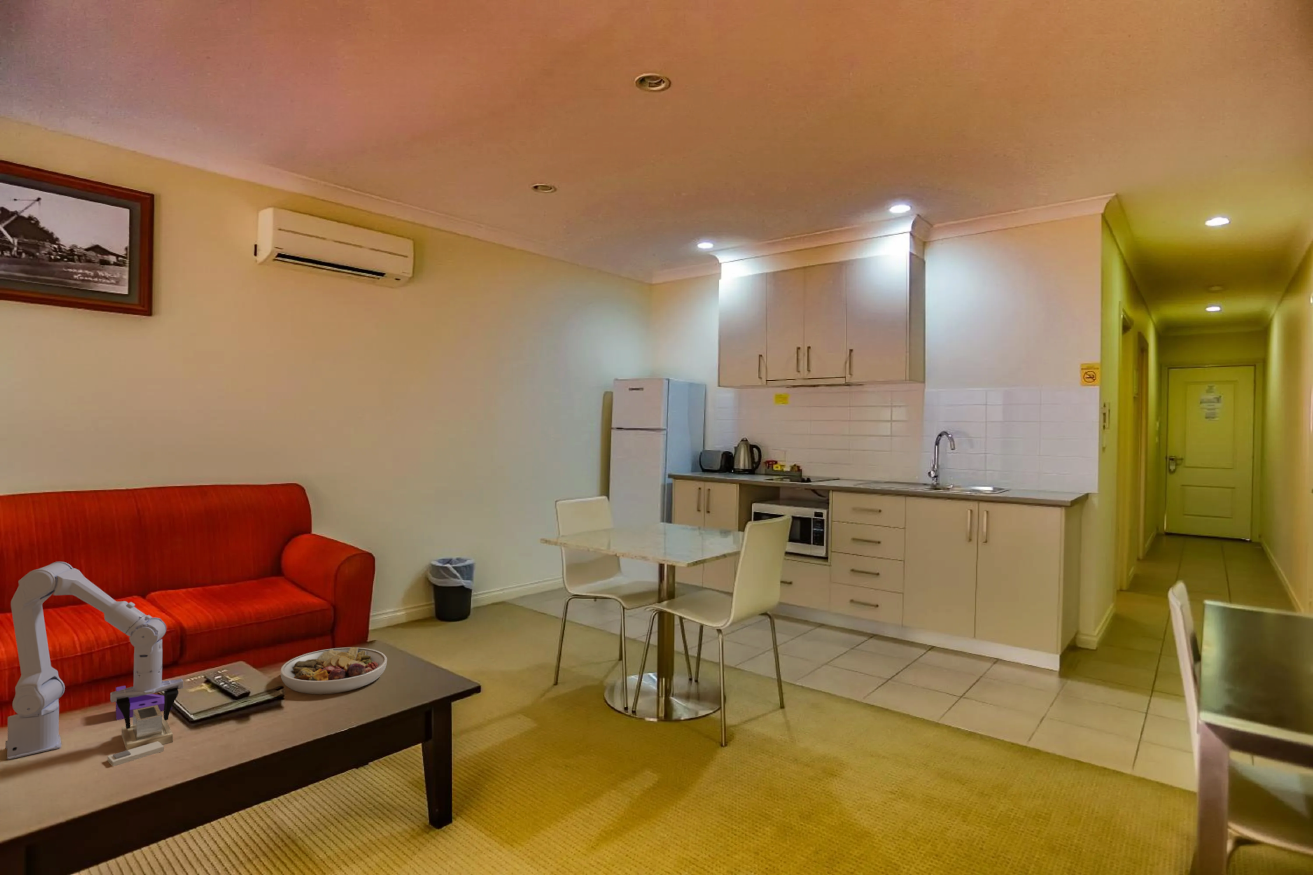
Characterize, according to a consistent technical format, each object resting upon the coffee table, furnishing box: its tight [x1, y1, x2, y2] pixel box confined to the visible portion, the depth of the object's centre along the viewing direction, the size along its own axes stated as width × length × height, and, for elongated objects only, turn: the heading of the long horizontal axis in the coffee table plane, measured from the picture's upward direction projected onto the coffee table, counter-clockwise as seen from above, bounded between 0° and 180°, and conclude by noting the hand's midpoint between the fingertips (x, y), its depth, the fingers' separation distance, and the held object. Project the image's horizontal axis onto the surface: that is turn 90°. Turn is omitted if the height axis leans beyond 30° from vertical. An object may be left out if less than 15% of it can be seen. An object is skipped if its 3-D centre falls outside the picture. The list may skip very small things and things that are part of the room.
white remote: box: [107, 741, 165, 767], centre depth 164 cm, size 4×10×2 cm, turn 143°
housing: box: [132, 705, 163, 741], centre depth 172 cm, size 5×8×5 cm, turn 43°
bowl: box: [280, 646, 388, 695], centre depth 215 cm, size 30×30×8 cm
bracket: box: [115, 685, 173, 721], centre depth 188 cm, size 12×7×7 cm, turn 129°
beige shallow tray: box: [121, 717, 174, 751], centre depth 172 cm, size 9×12×2 cm
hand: (147, 722), depth 172 cm, fingers open, 7 cm apart
